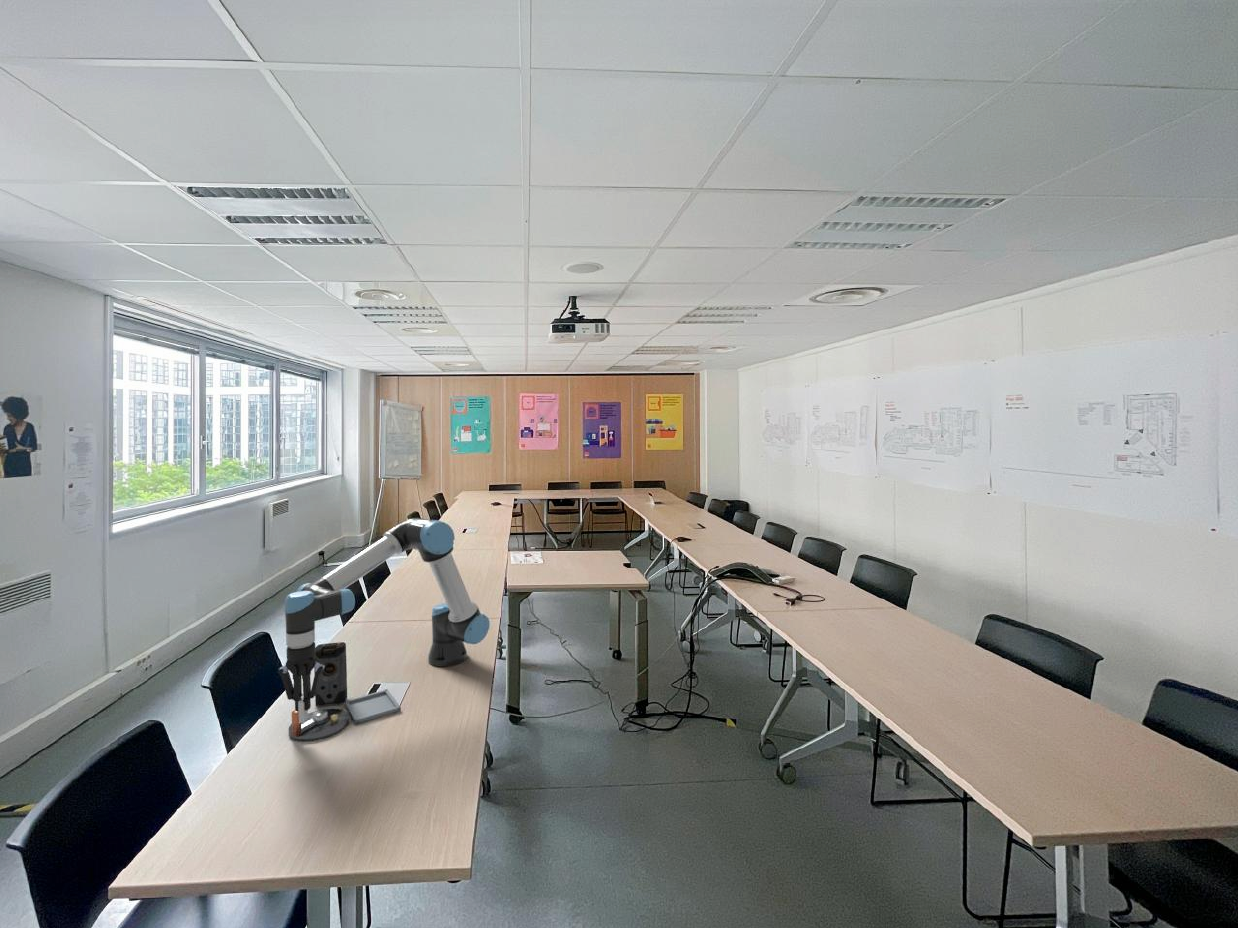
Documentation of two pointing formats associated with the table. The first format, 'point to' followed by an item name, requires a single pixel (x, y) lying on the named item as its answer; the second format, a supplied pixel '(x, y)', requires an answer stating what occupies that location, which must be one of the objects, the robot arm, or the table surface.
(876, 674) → the table surface
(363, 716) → the tray
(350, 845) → the table surface
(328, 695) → the electronic device
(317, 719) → the crank
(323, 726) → the crank base
